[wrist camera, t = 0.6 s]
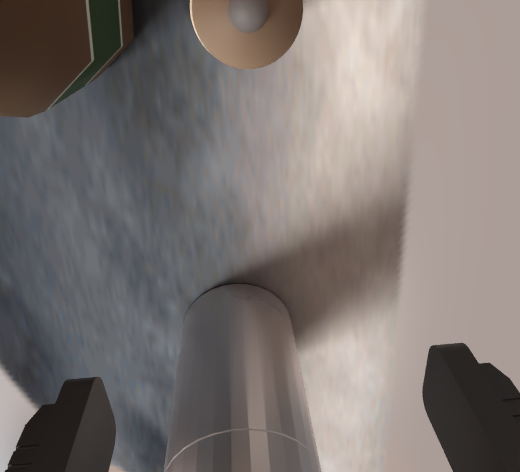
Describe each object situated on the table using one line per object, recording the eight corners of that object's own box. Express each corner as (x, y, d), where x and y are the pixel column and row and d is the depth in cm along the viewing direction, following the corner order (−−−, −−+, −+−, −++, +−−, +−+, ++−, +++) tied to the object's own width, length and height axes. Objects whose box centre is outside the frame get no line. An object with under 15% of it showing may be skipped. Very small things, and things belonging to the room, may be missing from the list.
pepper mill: (258, 55, 30) (282, 98, 17) (192, 25, 29) (166, 49, 16) (286, -18, 28) (336, -29, 15) (217, -51, 27) (209, -93, 14)
